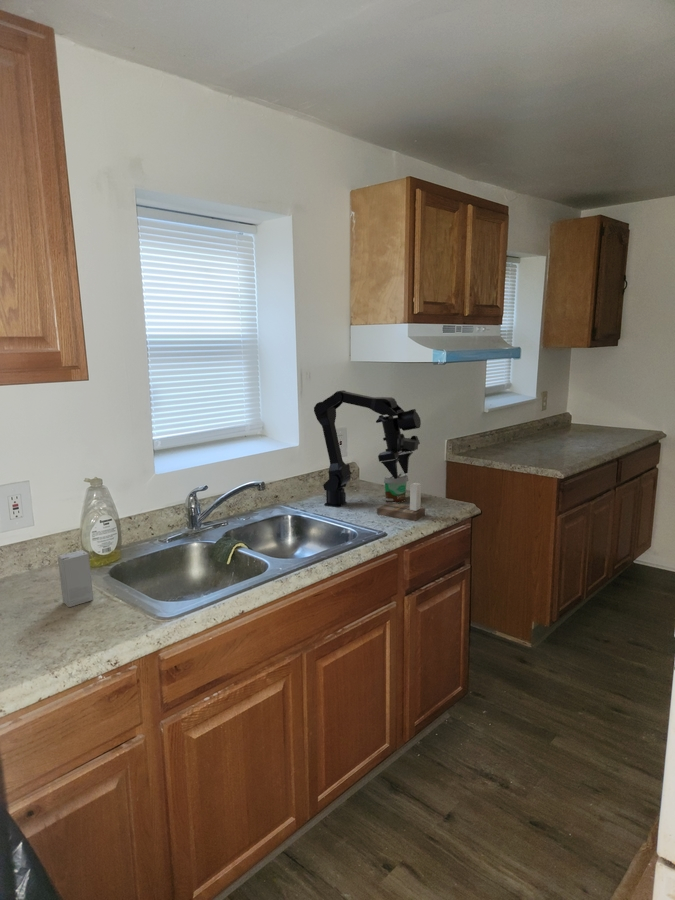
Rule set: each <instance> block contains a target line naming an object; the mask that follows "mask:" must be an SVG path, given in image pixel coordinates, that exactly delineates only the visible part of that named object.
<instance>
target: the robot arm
mask: <svg viewBox="0 0 675 900" xmlns="http://www.w3.org/2000/svg"><path fill="white" fill-rule="evenodd" d="M343 403H344V404H348V405H353V406H358V407H363V408H367V409H369V410H371V411H372V412H374V413H377V414H378V415H379V416H378V418H376V420H375V423H377V424H378V423H379V424H380V423H381V424H382V428H383V434H384V437H383V438H382V440H383V441H385V443H386V448H385V451H382V452H380V453H378V456H377V458H378V462H380V463H381V464H383V466H384V467H385V468H386V470H387V471H388V472H389V474H390V475H391V477H392V476H393V477H394V479H397V478H398V475H399V474H398V463H399V465H400V468H401V470H402V472H403V473H405V474H408V473H409V472H408V471H409V463H410V462H409V461H410V457H411V455H413V453H414V452H415V451H417V450H418V449H419V445H420V444H421V442H420V439H419V438H418V435H412V436H411V437H405V434H404V433H402V432H401V431H403V432H405V431H411V430H416V429H417V430H418V429H420V428H421V425H422V423H421V422H422V421H421V417H420V415H419V414H418V412H417V409H416V408H413V409H409V410H406V411H405V410H404V409H403V408H402V407H401V406H399V405H398V403H397V401H396V399H395V397H392V396H391V397H388V396H385V397H384V396H377V397H374V396H368V395H363V394H359V393H355V392H350V391H346V390H344V389H343V390H342V389H341V390H337V391H336V392H334V393H333V394H332V395H330V396H329V397H327V398H325V399H323V400H322V401H318V402H317V403H316V404H315V405H314V407H313V412H314V415H315V417H316V420H317V422H318V423H319V424H320V425H321V428H322V431H323V437H324V441H325V445H326V450H327V455H328V460H329V466H328V467H329V468H328V479H327V481H326V482H324V483H323V485H322V486H323V489H324V491H325V492H326V493H325V494H326V496H325V499H326V501H325V503H324V506H328V507H329V506H330V507H336V508H339V507H342V506H344V505H345V504H347V501H346V500H347V499H346V498H347V497H346V496H347V495H346V492H345V488H346V487H347V484H348V483H349V482H350V480H351V475H352V472H351V468H350V464H349V463H347V464H346V462H344V460H343V457H342V451H341V447H340V442H339V438H338V437H339V436H338V433H337V428H336V424H335V423H336V418H337V409H338V408H339V407H341V406H342V404H343Z"/></svg>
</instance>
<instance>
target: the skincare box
mask: <svg viewBox="0 0 675 900" xmlns="http://www.w3.org/2000/svg"><path fill="white" fill-rule="evenodd" d="M57 563H58V564H57V565H58V571H59V573H58V574H59V579H60V580H59V582H60V589H61V590H60V591H61V596H62V603H64V605H66V606H67V607H68V608H71V607H75V606H78V605H81V604H84V603H88V602H91V601H94V591H93V581H92V573H91V572H92V571H91V563H90V554H89V553H88V552H87V551H85V550H83V549H81V550H77V551H73V552H69V553H68V552H67V553H63V554H61V555H57Z"/></svg>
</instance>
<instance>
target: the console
mask: <svg viewBox="0 0 675 900" xmlns="http://www.w3.org/2000/svg"><path fill="white" fill-rule="evenodd" d="M382 515H383V517H389V518H395V519H402V520H408V521H414V522H416V521H418V520H419V519H421V518H423V517H424V516H426V508H425V507H420V509H419V510H417V511H414V510H410V505H405V504H399V503H388V502H385V503H384V504H382V505H380V506H378V507H377V508H376V516H382Z"/></svg>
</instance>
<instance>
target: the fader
mask: <svg viewBox="0 0 675 900" xmlns="http://www.w3.org/2000/svg"><path fill="white" fill-rule="evenodd" d="M421 488H422V484H421V483H418V482H413V483H410V485H409V489H410V490H409V506H410V510H414V511H417V510H419V509H420V508H421V499H422V497H421V495H422V493H421V492H422V489H421Z"/></svg>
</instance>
